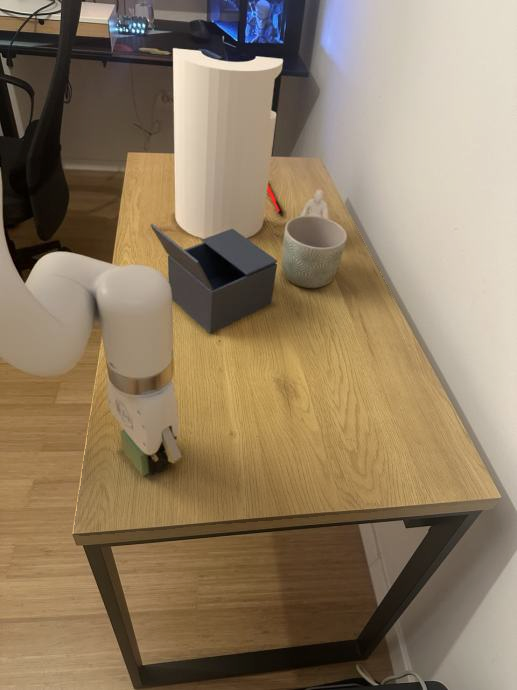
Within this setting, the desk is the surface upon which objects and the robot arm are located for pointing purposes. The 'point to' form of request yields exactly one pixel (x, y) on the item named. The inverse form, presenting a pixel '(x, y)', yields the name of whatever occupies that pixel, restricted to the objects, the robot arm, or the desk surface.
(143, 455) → the block
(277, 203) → the pen
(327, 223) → the planter
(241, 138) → the white rounded tall casing
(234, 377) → the desk surface
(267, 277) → the carton
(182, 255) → the flap
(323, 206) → the figurine
